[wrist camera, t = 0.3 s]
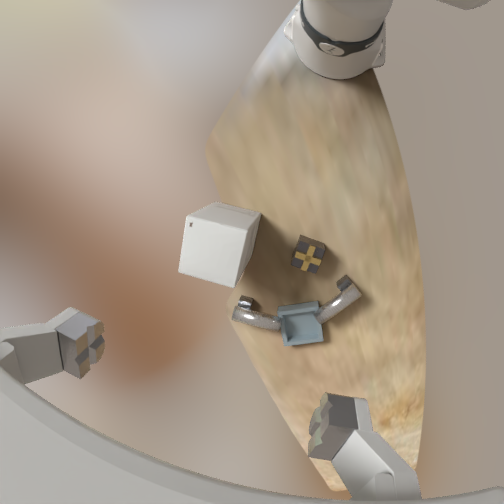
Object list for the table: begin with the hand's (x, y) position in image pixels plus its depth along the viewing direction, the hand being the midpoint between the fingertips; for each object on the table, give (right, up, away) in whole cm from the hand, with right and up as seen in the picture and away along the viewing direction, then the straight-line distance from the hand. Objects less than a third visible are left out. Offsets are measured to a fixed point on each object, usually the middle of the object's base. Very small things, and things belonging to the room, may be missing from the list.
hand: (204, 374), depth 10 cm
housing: (+11, -10, +49) cm, 52 cm away
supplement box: (-2, +8, +47) cm, 48 cm away
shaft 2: (+17, -4, +47) cm, 50 cm away
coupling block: (+12, +4, +45) cm, 47 cm away
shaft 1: (+3, -7, +50) cm, 51 cm away
